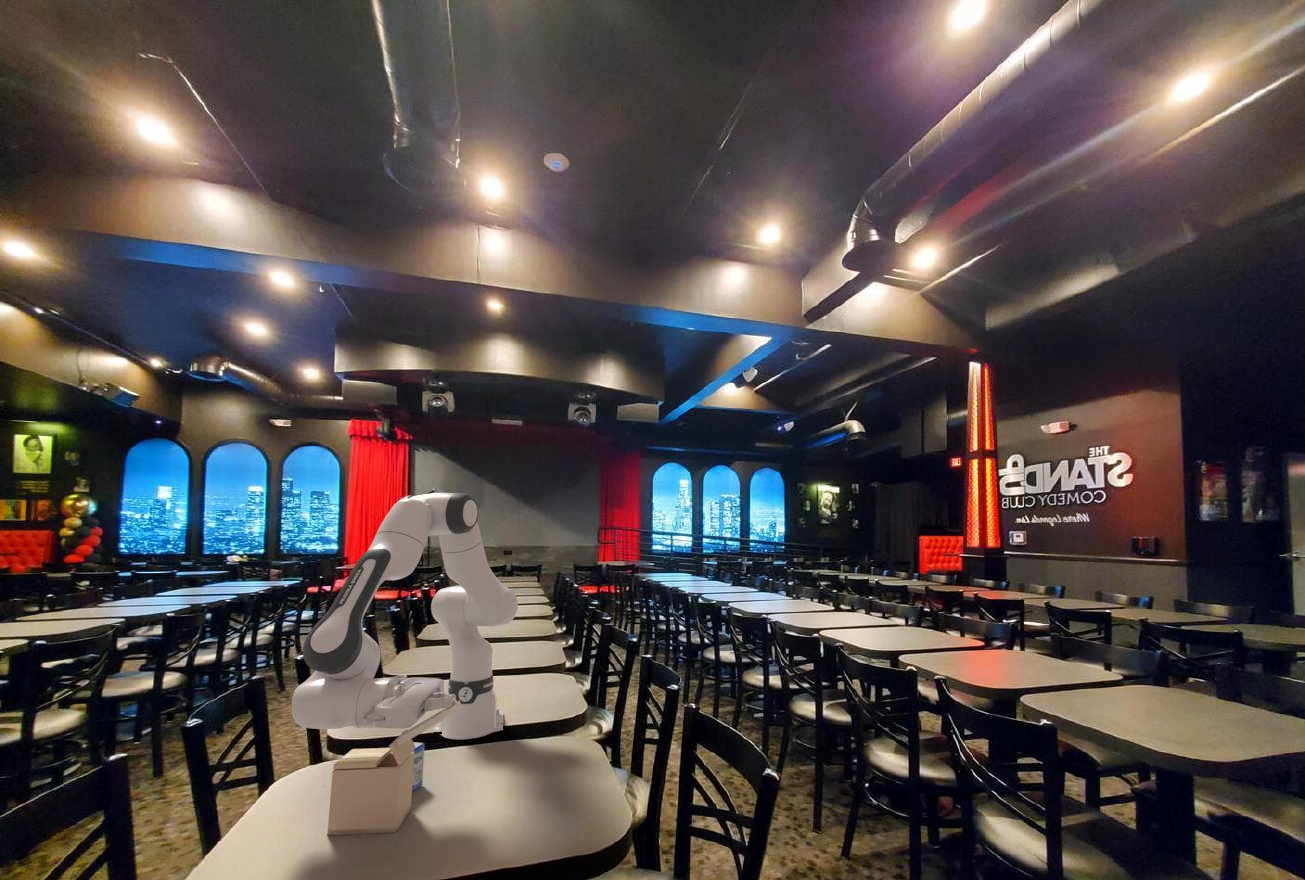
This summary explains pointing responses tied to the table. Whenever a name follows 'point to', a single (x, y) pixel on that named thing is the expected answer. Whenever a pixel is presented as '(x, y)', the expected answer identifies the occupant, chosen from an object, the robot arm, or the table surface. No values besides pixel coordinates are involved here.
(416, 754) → the medicine box
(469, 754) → the table surface
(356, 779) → the carton
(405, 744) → the flap
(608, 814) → the table surface
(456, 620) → the robot arm
